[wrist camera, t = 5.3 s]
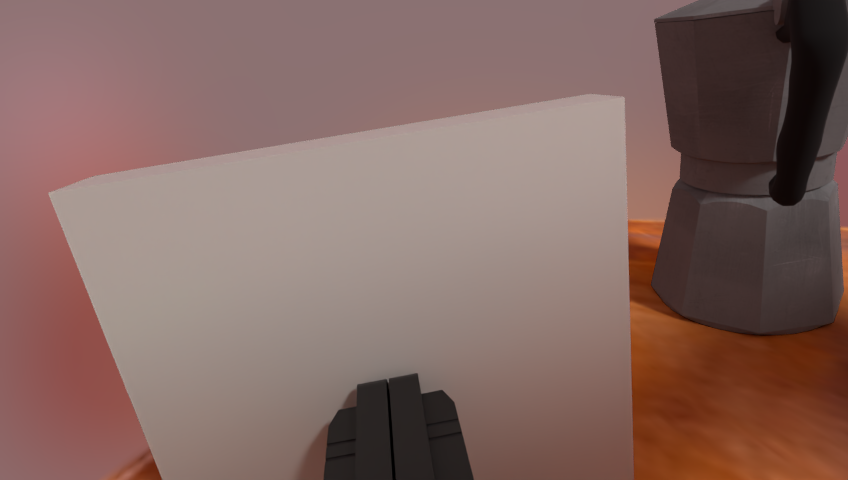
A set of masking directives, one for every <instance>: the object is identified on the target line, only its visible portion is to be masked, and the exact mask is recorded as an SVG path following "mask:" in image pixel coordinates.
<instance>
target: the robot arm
mask: <svg viewBox="0 0 848 480" xmlns="http://www.w3.org/2000/svg"><path fill="white" fill-rule="evenodd" d="M325 459H326V462H325V468H324V479H323V480H474V478H473V474H472V470H471V466H470V462H469V458H468V454H467V450H466V446H465V442H464V438H463V435H462V430H461V426H460V422H459V418H458V414H457V410H456V406H455V402H454V401H453V400H452V399H451V398H450V397H449V396H448V395H447V394H446V393H445V392H444V391H443V390H439V391H433V392H428V393H423V394H421V389H420V383H419V378H418V373H414V374H409V375H404V376H398V377H393V378H389V385H388V381H387V379H383V380H378V381H373V382H368V383H362V384H357V403H356V407H351V408H345V409H340V410H338V411H337V413H336V415H335V416H334V418H333V420H332V421H331V423H330V425H329V426H328V436H327V448H326V457H325Z"/></svg>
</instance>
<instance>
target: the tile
mask: <svg viewBox="0 0 848 480" xmlns="http://www.w3.org/2000/svg"><path fill="white" fill-rule="evenodd" d="M626 182H627V180H626V139H625V99H624V97H618V96H607V95H596V94H587V95H581V96H575V97H569V98H563V99H557V100H551V101H544V102H538V103H532V104H526V105H521V106H515V107H509V108H502V109H496V110H490V111H484V112H478V113H472V114H466V115H460V116H454V117H448V118H442V119H436V120H430V121H424V122H418V123H412V124H406V125H399V126H393V127H387V128H381V129H375V130H369V131H363V132H357V133H351V134H345V135H339V136H333V137H327V138H321V139H315V140H309V141H303V142H297V143H291V144H285V145H279V146H273V147H267V148H261V149H255V150H248V151H243V152H236V153H231V154H225V155H219V156H213V157H206V158H200V159H195V160H188V161H183V162H176V163H170V164H164V165H158V166H152V167H146V168H140V169H134V170H128V171H122V172H116V173H110V174H104V175H97V176H93V177H90V178H87V179H85V180H82V181H79V182H77V183H74V184H72V185H69V186H66V187H63V188H60V189H58V190H55V191H52V192H50V193H48V194H49V196H50V199H51V201H52V204H53V206H54V209H55V211H56V214H57V216H58V219H59V221H60V224H61V226H62V229H63V231H64V234H65V236H66V239H67V241H68V244H69V246H70V249H71V252H72V254H73V256H74V259H75V262H76V264H77V266H78V269H79V272H80V274H81V276H82V279H83V282H84V284H85V287H86V289H87V292H88V294H89V297H90V299H91V302H92V304H93V307H94V309H95V312H96V314H97V317H98V319H99V322H100V324H101V327H102V330H103V332H104V335H105V337H106V340H107V342H108V345H109V347H110V350H111V352H112V355H113V357H114V360H115V362H116V365H117V367H118V370H119V372H120V375H121V377H122V380H123V382H124V385H125V387H126V390H127V392H128V395H129V397H130V400H131V402H132V405H133V408H134V410H135V412H136V415H137V418H138V420H139V423H140V425H141V428H142V430H143V433H144V435H145V438H146V440H147V443H148V445H149V448H150V450H151V453H152V455H153V458H154V460H155V463H156V465H157V468H158V470H159V473H160V475H161V478H162V480H323V479H324V468H325V462H326V459H325V457H326V448H327V436H328V426H329V425H330V423H331V421H332V420H333V418H334V416H335V415H336V413H337V411H338V410H340V409H345V408H351V407H356V403H357V384H362V383H368V382H373V381H378V380H383V379H387V381H388V385H389V378H393V377H398V376H404V375H409V374H414V373H418V378H419V383H420V389H421V394H423V393H428V392H433V391H439V390H443V391H444V392H445V393H446V394H447V395H448V396H449V397H450V398H451V399H452V400H453V401H454V402H455V406H456V410H457V414H458V418H459V422H460V426H461V430H462V435H463V438H464V442H465V446H466V450H467V454H468V458H469V462H470V466H471V470H472V474H473V478H474V480H634V456H633V416H632V377H631V337H630V297H629V258H628V218H627V183H626Z"/></svg>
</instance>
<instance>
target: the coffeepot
mask: <svg viewBox="0 0 848 480" xmlns="http://www.w3.org/2000/svg"><path fill="white" fill-rule="evenodd" d="M654 22H657V23H655V28H656V35H657V43H658V50H659V58H660V65H661V73H662V80H663V88H664V95H665V102H666V110H667V117H668V124H669V133H670V140H671V146H672V147H673V148H674V149H676V150H677V151H678V152H681V165H680V179H679V180H678V181H677V182H676V184H675V186H674V187H673V189H672V193H671V198H670V202H669V207H668V211H667V216H666V220H665V224H664V229H663V233H662V238H661V242H660V247H659V251H658V256H657V260H656V264H655V269H654V273H653V278H652V282H651V286H652V287H653V289H654V290H655V291H656V293H657V294H658V295H659V297H660V298H661V299H662V300H663V302H664V303H665V304H666V305H667V306H668V307H670V308H671V309H672V310H673V311H675V312H677V313H678V314H680V315H682V316H684V317H685V318H688V319H690V320H693V321H695V322H698V323H700V324H703V325H707V326H710V327H713V328H717V329H721V330H727V331H732V332H737V333H746V334H756V335H782V334H793V333H799V332H804V331H809V330H812V329H815V328H818V327H820V326H823V325H825V324H829V323H833V322H834V319H835V316H836V313H837V312H838V307H839V304H840V301H841V298H842V295H843V292H844V286H843V269H842V251H841V234H840V217H839V199H838V184H837V183H836V182H835V181H834V180H833V178H834V171H835V163H836V156H837V152H838V151H840V150H841V149H842V147H843V146H844V144H845V141H846V139H847V137H848V0H699V1H696V2H694V3H691V4H689V5H686V6H684V7H682V8H679V9H677V10H675V11H672V12H670V13H668V14H666V15H663V16H661V17H658V18H656V19H655V20H654Z"/></svg>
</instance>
